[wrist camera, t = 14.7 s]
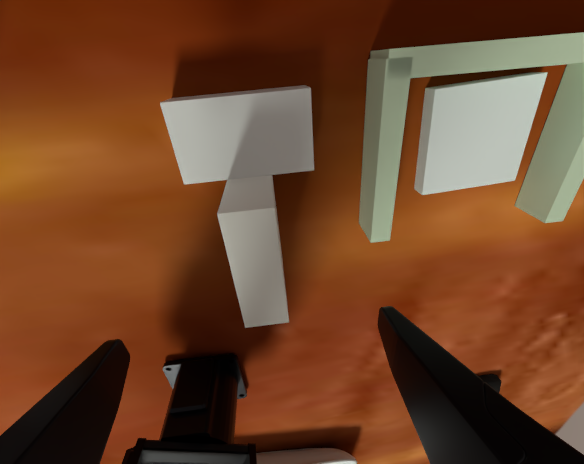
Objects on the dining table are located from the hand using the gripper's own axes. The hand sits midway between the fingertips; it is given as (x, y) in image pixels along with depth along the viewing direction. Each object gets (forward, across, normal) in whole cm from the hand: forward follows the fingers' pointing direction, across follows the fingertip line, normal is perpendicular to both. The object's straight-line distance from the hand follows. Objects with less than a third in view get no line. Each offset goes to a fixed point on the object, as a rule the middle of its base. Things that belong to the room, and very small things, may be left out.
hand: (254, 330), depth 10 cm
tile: (+10, -13, -3) cm, 17 cm away
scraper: (+10, 0, -1) cm, 10 cm away
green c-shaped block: (+10, -13, -3) cm, 17 cm away
